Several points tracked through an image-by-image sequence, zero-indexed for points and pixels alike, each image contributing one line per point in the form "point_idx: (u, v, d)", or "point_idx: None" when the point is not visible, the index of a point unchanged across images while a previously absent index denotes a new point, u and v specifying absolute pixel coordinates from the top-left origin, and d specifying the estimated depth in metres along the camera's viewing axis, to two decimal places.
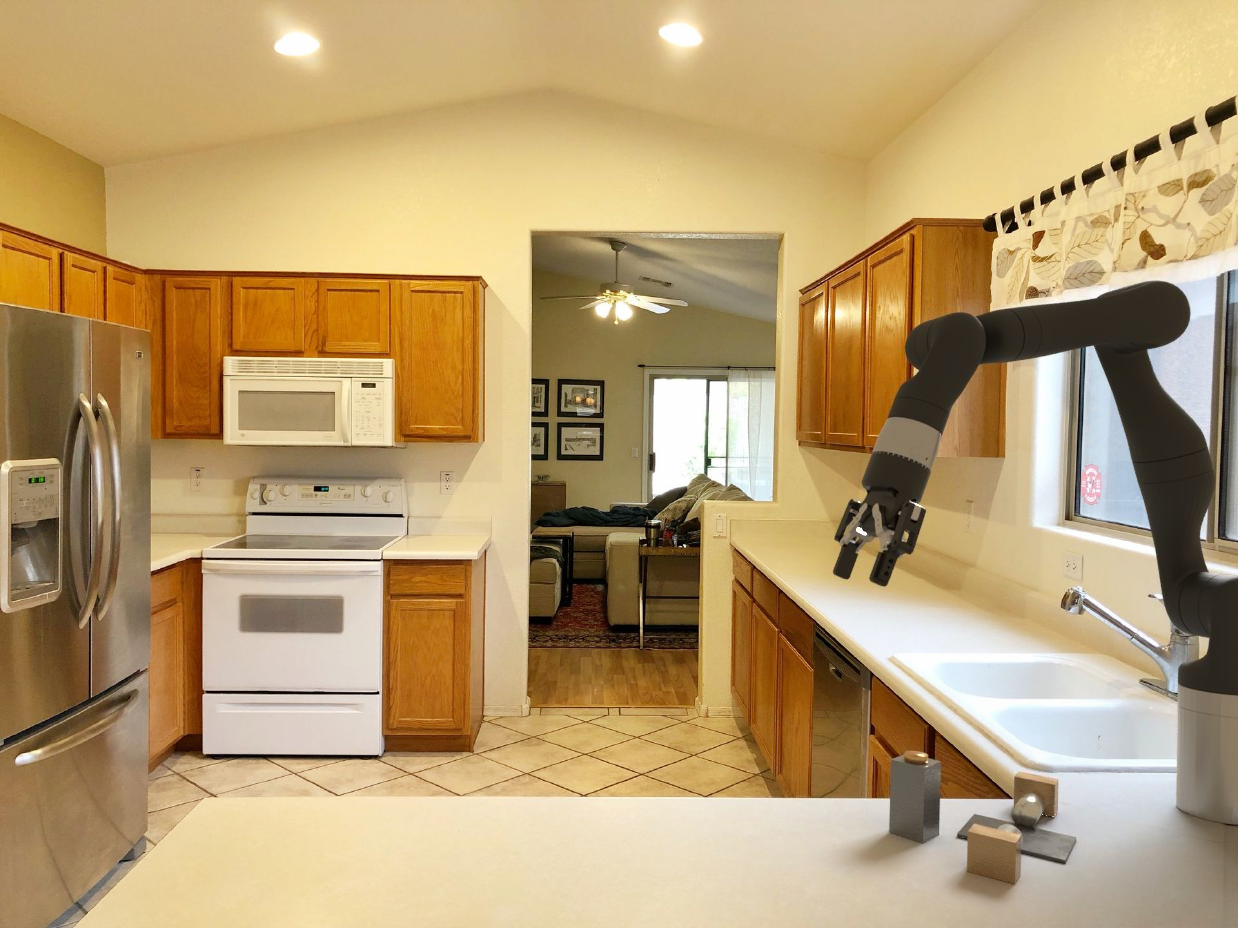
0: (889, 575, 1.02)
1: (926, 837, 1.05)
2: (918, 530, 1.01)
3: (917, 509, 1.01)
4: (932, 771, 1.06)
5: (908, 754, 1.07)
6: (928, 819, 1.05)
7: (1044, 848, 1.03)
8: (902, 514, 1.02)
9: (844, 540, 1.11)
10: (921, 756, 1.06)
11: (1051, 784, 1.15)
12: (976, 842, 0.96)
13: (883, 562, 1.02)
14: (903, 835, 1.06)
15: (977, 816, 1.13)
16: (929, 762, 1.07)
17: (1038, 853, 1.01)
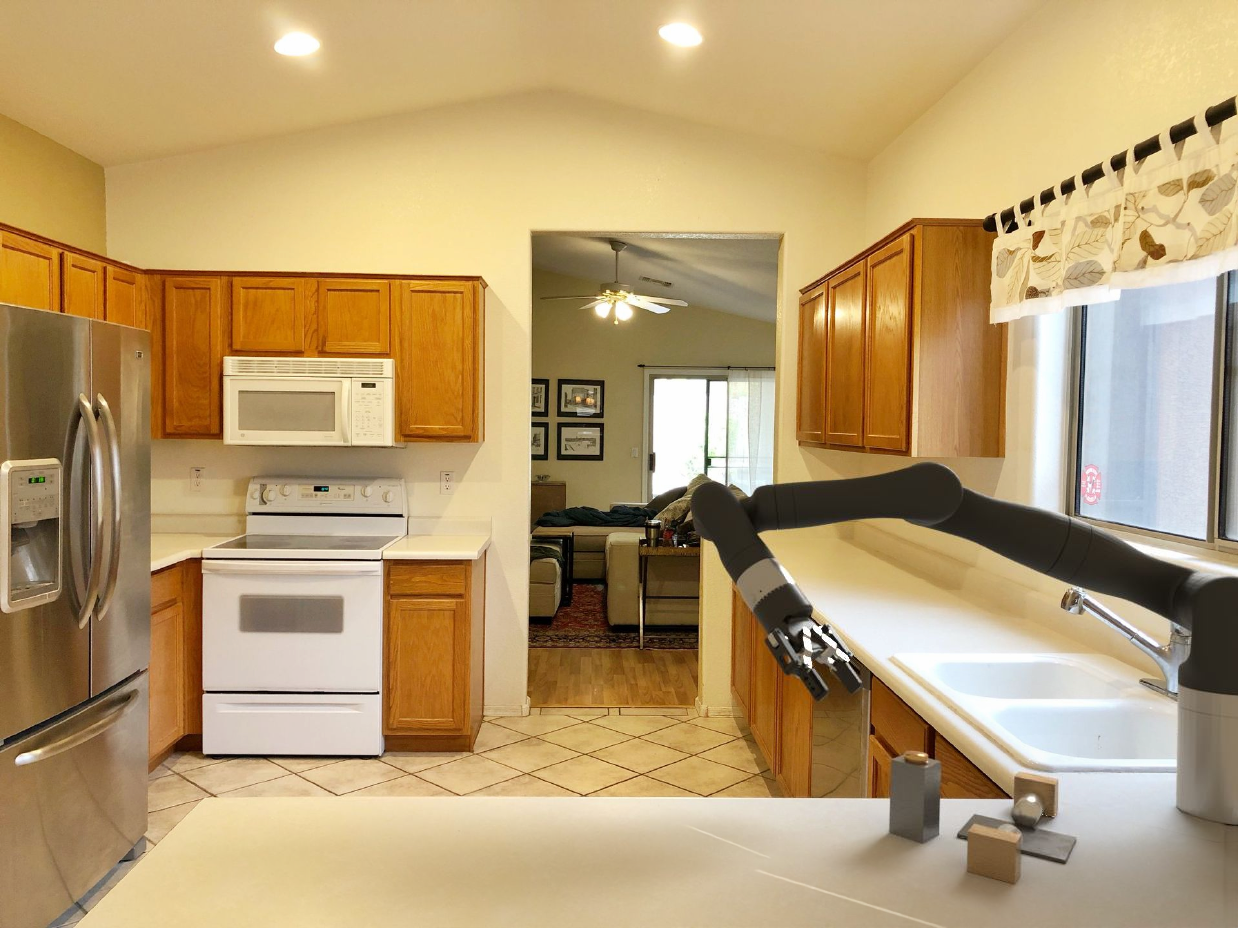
0: (815, 686, 1.12)
1: (926, 837, 1.05)
2: (784, 647, 1.14)
3: (771, 637, 1.16)
4: (932, 771, 1.06)
5: (908, 754, 1.07)
6: (928, 819, 1.05)
7: (1044, 848, 1.03)
8: None
9: None
10: (922, 756, 1.06)
11: (1051, 784, 1.15)
12: (976, 842, 0.96)
13: None
14: (903, 835, 1.06)
15: (977, 816, 1.13)
16: (929, 762, 1.07)
17: (1038, 853, 1.01)
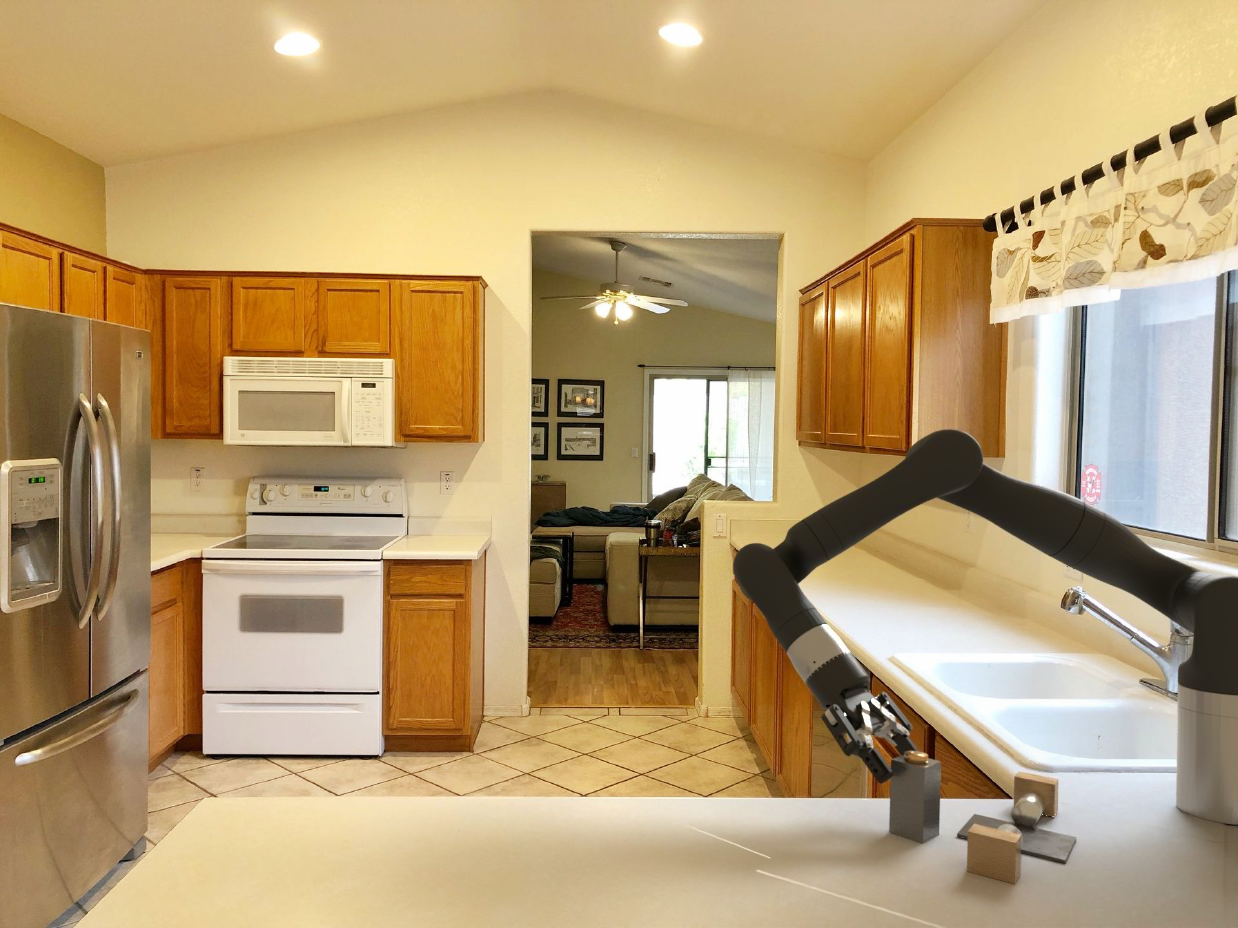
0: (878, 768, 1.05)
1: (926, 837, 1.05)
2: (844, 726, 1.07)
3: (828, 714, 1.09)
4: (932, 771, 1.06)
5: (908, 754, 1.07)
6: (928, 819, 1.05)
7: (1044, 848, 1.03)
8: None
9: None
10: (922, 756, 1.06)
11: (1051, 784, 1.15)
12: (976, 842, 0.96)
13: None
14: (903, 835, 1.06)
15: (977, 816, 1.13)
16: (929, 762, 1.07)
17: (1038, 853, 1.01)
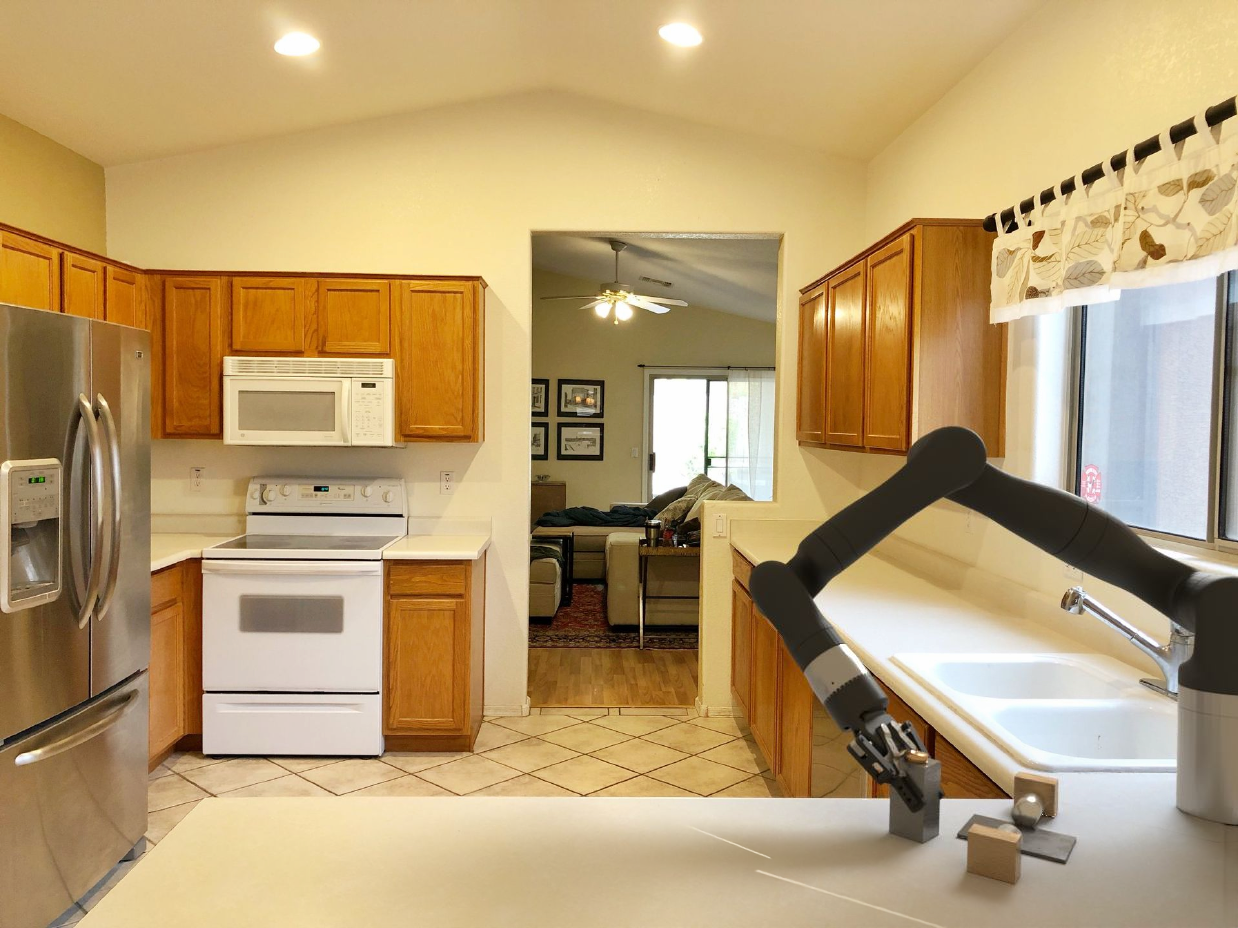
0: (911, 798, 1.04)
1: (926, 837, 1.05)
2: (874, 757, 1.05)
3: (855, 746, 1.06)
4: (932, 771, 1.06)
5: (908, 754, 1.07)
6: (928, 819, 1.05)
7: (1044, 848, 1.03)
8: None
9: None
10: (921, 756, 1.06)
11: (1051, 784, 1.15)
12: (976, 842, 0.96)
13: None
14: (903, 835, 1.06)
15: (977, 816, 1.13)
16: (929, 762, 1.07)
17: (1038, 853, 1.01)
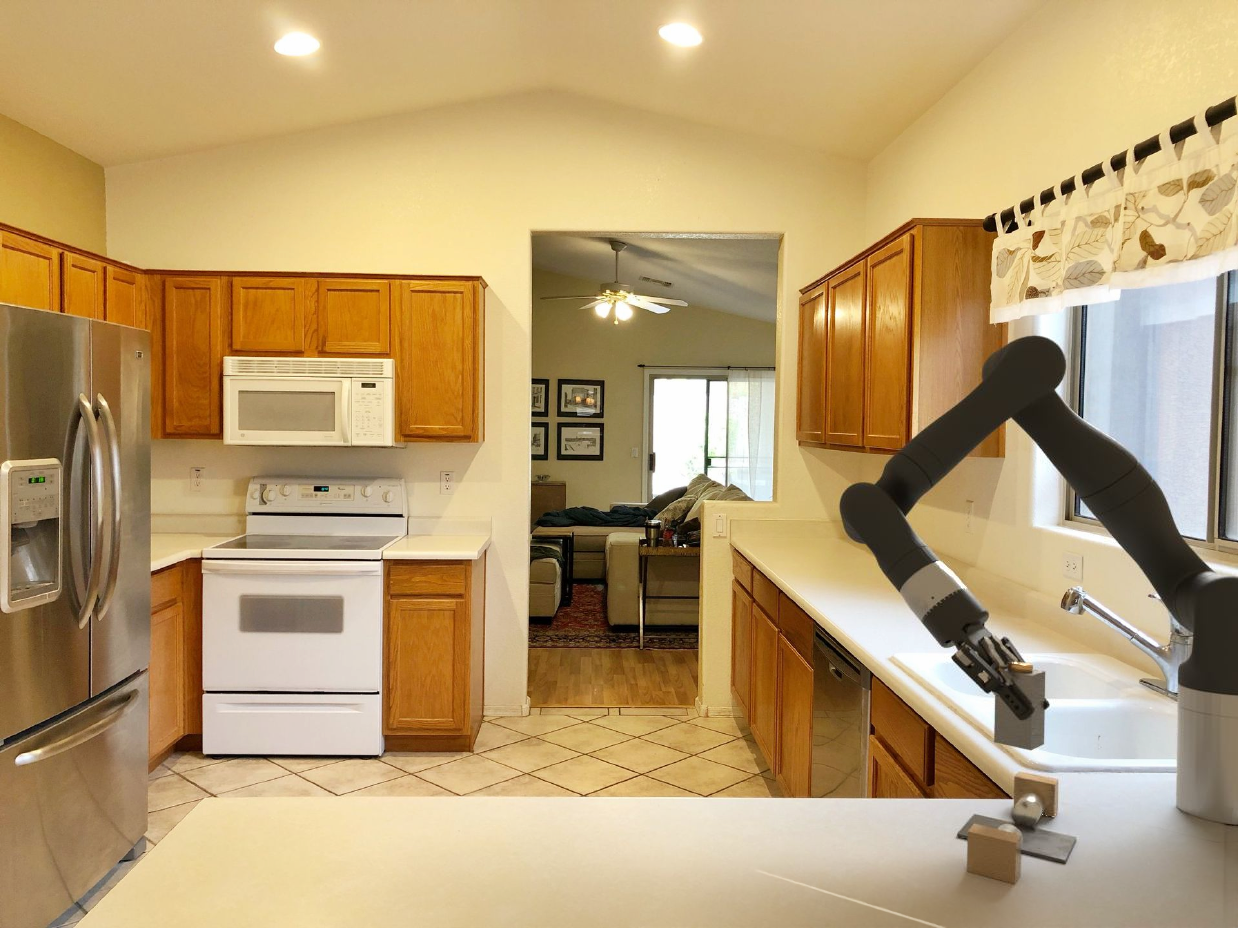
0: (1020, 705, 1.04)
1: (1033, 744, 1.05)
2: (982, 665, 1.05)
3: (961, 656, 1.06)
4: (1038, 680, 1.06)
5: (1013, 664, 1.07)
6: (1035, 727, 1.05)
7: (1044, 848, 1.03)
8: None
9: None
10: (1027, 665, 1.07)
11: (1051, 784, 1.15)
12: (976, 842, 0.96)
13: (1007, 702, 1.05)
14: (1009, 744, 1.06)
15: (977, 816, 1.13)
16: (1034, 671, 1.07)
17: (1038, 853, 1.01)
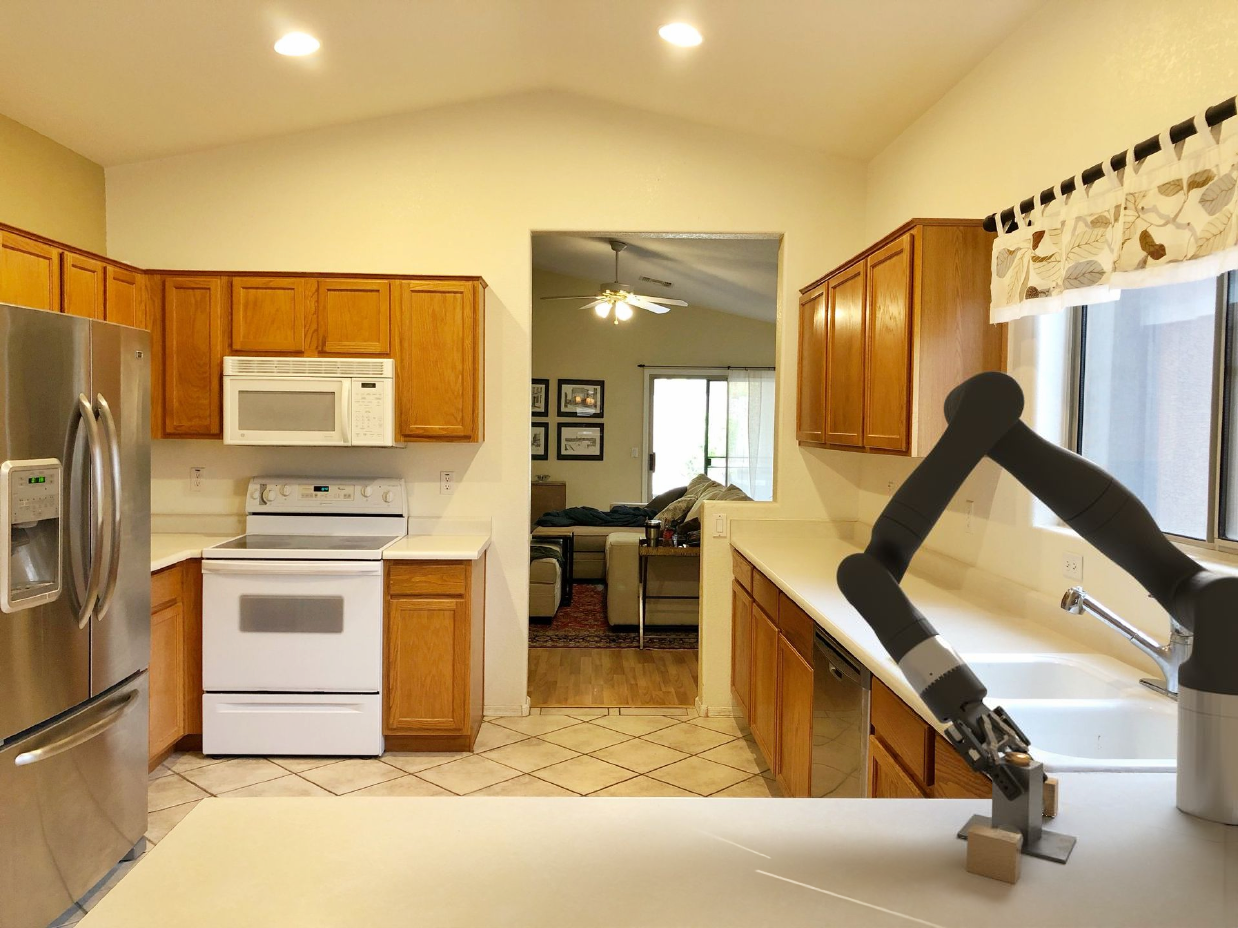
0: (1009, 785, 1.03)
1: (1031, 839, 1.04)
2: (971, 742, 1.05)
3: (953, 730, 1.06)
4: (1036, 773, 1.06)
5: (1010, 755, 1.07)
6: (1033, 821, 1.05)
7: (1044, 848, 1.03)
8: None
9: None
10: (1025, 758, 1.06)
11: (1051, 784, 1.15)
12: (976, 842, 0.96)
13: None
14: None
15: (977, 816, 1.13)
16: (1032, 763, 1.07)
17: (1038, 853, 1.01)
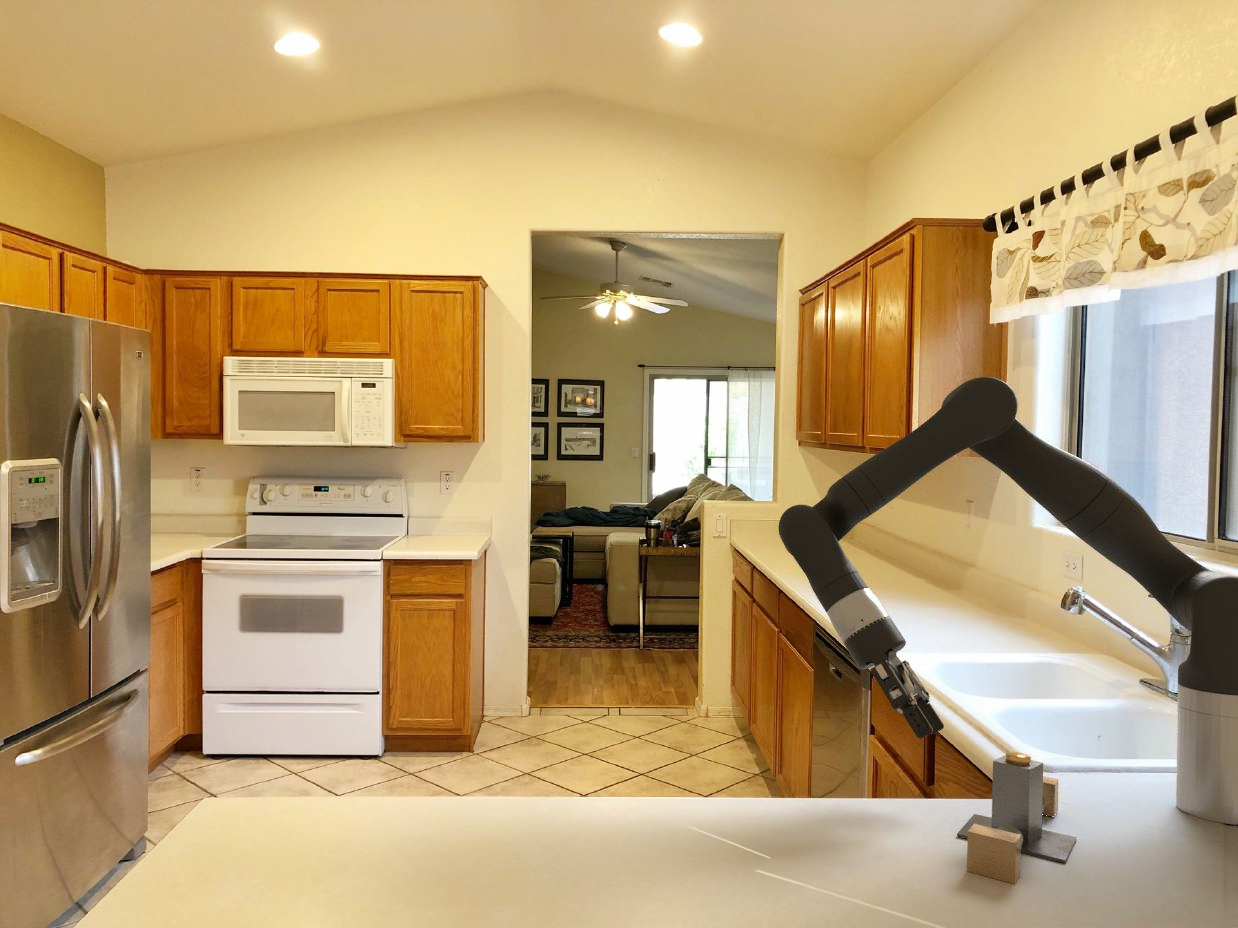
0: (922, 724, 1.12)
1: (1031, 839, 1.04)
2: (896, 680, 1.13)
3: (880, 668, 1.14)
4: (1036, 773, 1.06)
5: (1010, 755, 1.07)
6: (1033, 821, 1.05)
7: (1044, 848, 1.03)
8: None
9: None
10: (1025, 758, 1.06)
11: (1051, 784, 1.15)
12: (976, 842, 0.96)
13: None
14: None
15: (977, 816, 1.13)
16: (1032, 763, 1.07)
17: (1038, 853, 1.01)
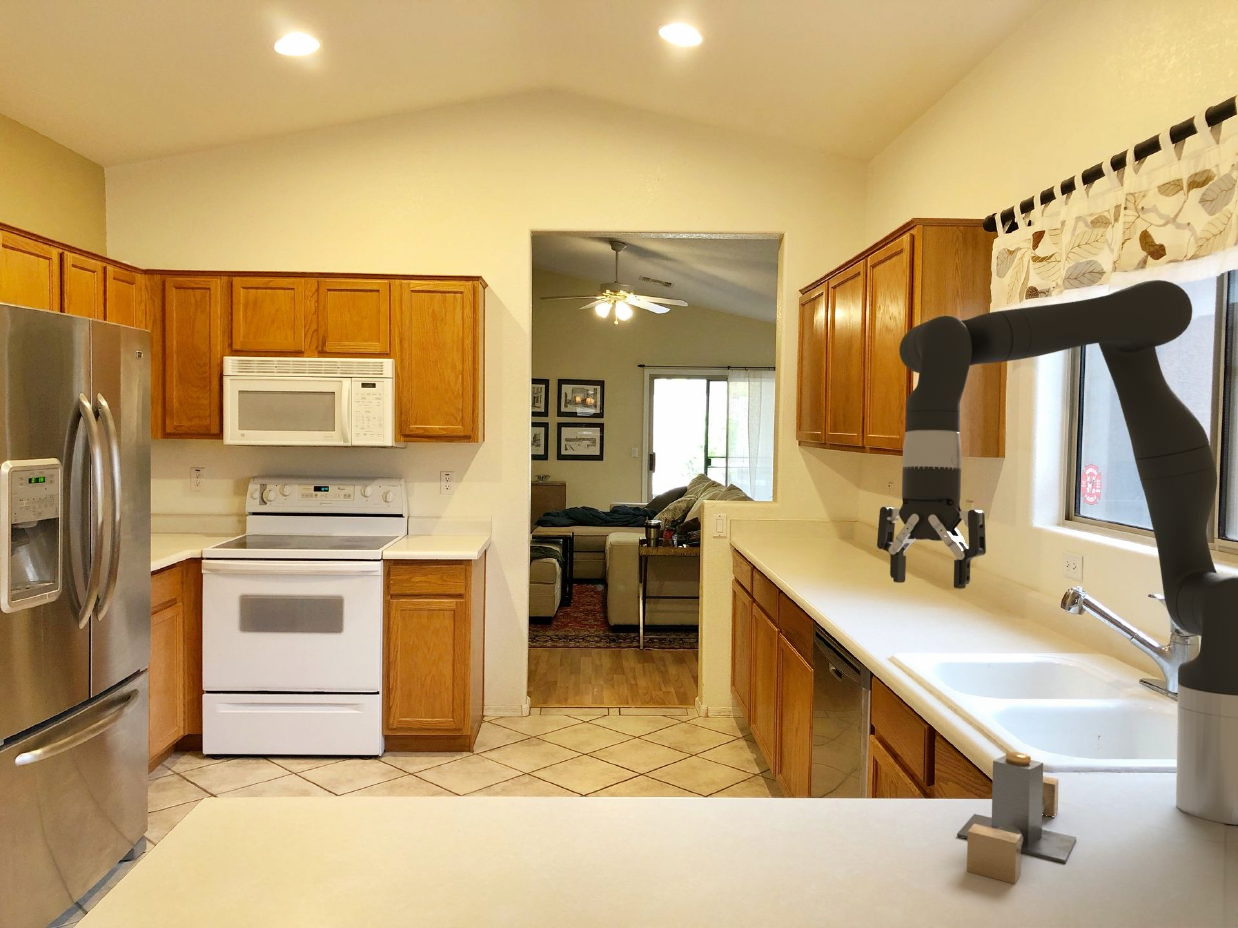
0: (969, 578, 1.13)
1: (1031, 839, 1.04)
2: (984, 532, 1.13)
3: (980, 515, 1.12)
4: (1036, 773, 1.06)
5: (1010, 755, 1.07)
6: (1033, 821, 1.05)
7: (1044, 848, 1.03)
8: (972, 524, 1.12)
9: (895, 549, 1.19)
10: (1025, 758, 1.06)
11: (1051, 784, 1.15)
12: (976, 842, 0.96)
13: (963, 569, 1.13)
14: None
15: (977, 816, 1.13)
16: (1032, 763, 1.07)
17: (1038, 853, 1.01)
